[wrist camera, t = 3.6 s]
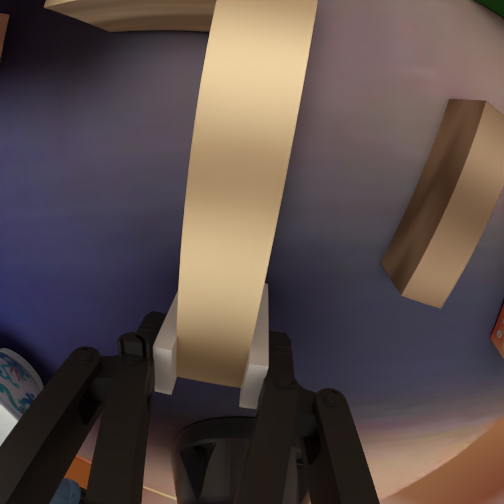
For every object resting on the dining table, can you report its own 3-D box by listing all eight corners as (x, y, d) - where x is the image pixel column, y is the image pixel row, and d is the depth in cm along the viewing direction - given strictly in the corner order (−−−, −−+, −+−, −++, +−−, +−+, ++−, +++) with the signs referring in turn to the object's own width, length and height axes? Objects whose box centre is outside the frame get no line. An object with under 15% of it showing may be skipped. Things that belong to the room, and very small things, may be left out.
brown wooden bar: (416, 274, 19) (440, 308, 16) (379, 261, 19) (400, 295, 15) (482, 123, 15) (522, 130, 11) (447, 99, 14) (486, 100, 11)
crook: (248, 312, 19) (241, 387, 14) (96, 283, 19) (49, 341, 13) (307, -7, 12) (327, -63, 6) (121, -16, 11) (63, -55, 6)
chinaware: (48, 425, 31) (26, 468, 24) (-34, 345, 27) (-66, 383, 20) (98, 399, 26) (70, 460, 19) (-11, 290, 22) (-61, 337, 15)
